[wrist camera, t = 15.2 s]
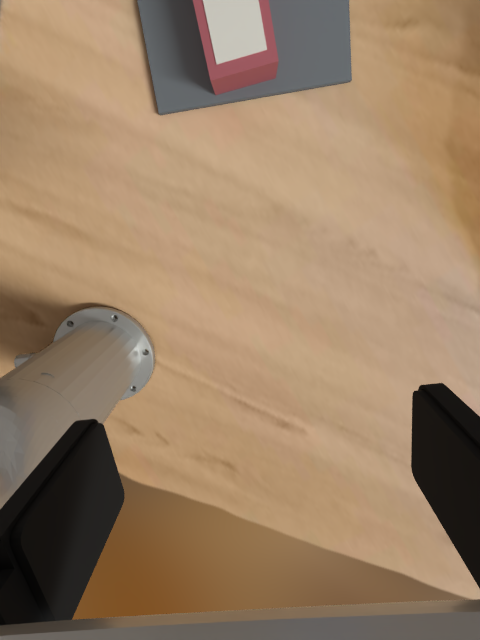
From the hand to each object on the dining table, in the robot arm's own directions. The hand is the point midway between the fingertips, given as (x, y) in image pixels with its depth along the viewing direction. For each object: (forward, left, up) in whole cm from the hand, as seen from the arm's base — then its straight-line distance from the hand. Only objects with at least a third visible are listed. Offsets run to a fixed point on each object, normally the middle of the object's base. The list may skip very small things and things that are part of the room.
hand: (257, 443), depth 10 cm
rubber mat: (+2, +23, -30) cm, 38 cm away
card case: (+1, +23, -30) cm, 37 cm away
